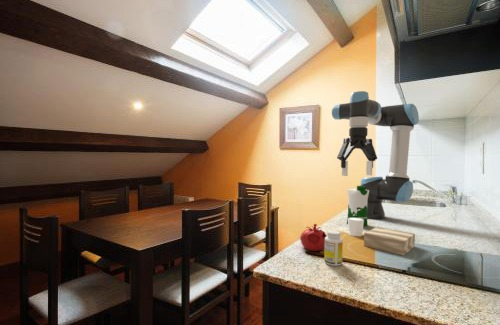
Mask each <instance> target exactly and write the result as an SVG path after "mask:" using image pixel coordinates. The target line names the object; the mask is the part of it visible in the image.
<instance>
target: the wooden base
mask: <svg viewBox="0 0 500 325" xmlns="http://www.w3.org/2000/svg"><path fill="white" fill-rule="evenodd" d="M415 237H416V233H413V232H408V231H402V230H396V229H392V228H385V227H380V226H377V227H374V228H372V229H370V230H368V231H366V232H364V236H363V246H364V247H367V248H371V249H376V250H379V251H383V252H388V253H392V254H397V255H401V256H405V255H406V254H407V253H409V252H410V251H411V250H412V249H413V248H415V243H416V240H415V239H416V238H415Z"/></svg>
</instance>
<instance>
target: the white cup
mask: <svg viewBox="0 0 500 325" xmlns="http://www.w3.org/2000/svg"><path fill="white" fill-rule="evenodd" d="M347 218H348V217H347ZM363 224H364V219H361V218H348V224H347V228H348V235H349V236H354V237H362V236H363V232H364V231H363V230H364V226H363Z"/></svg>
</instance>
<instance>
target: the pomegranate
mask: <svg viewBox="0 0 500 325" xmlns="http://www.w3.org/2000/svg"><path fill="white" fill-rule="evenodd" d="M317 225H318V224H317V223H313V225H312V226H311V227H310V226H306V227H305V229H304V230H303V231H302V232H301V235H300V237H299V241H300V242H301V245H302V247H304V248H305V249H306V250H308V251H311V252H319V251H323V250H325V237H327V233H326V232H325V231H323V230H322V229H321V227H317Z"/></svg>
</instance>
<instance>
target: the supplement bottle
mask: <svg viewBox="0 0 500 325" xmlns="http://www.w3.org/2000/svg"><path fill="white" fill-rule="evenodd" d="M326 236H327V237H325V249H324V257H323V258H324V260H323V261H324V263H325V264H326V265H327V266H331V267H338V266H341V265H342V264H343V244H344V243H343V241H344V239H343V238H342V237H341V231H338V230H330V229H329V230H327V233H326Z"/></svg>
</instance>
